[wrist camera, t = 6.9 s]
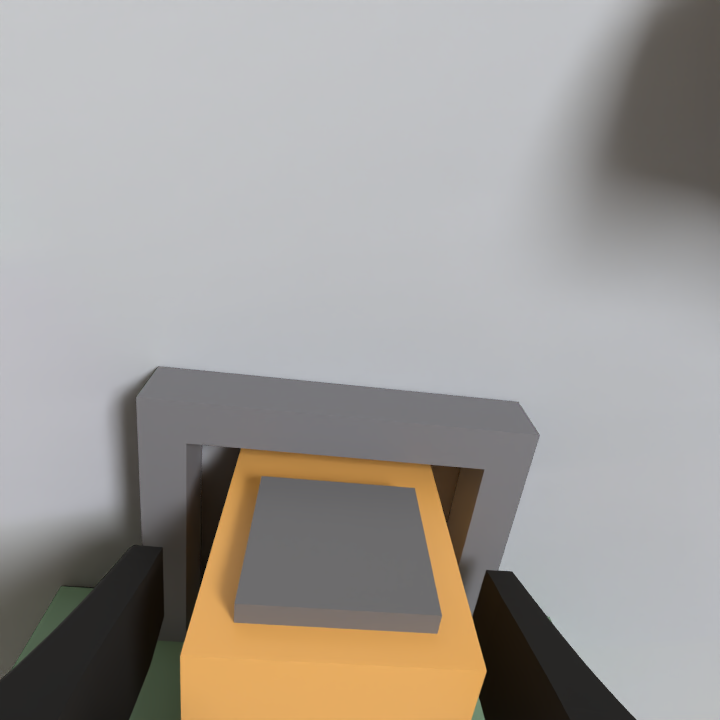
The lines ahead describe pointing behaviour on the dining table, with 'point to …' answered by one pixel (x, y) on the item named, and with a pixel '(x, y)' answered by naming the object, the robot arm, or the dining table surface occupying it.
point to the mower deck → (307, 436)
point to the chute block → (331, 598)
